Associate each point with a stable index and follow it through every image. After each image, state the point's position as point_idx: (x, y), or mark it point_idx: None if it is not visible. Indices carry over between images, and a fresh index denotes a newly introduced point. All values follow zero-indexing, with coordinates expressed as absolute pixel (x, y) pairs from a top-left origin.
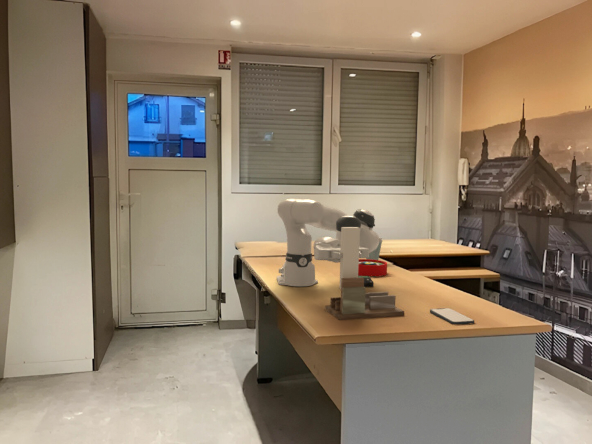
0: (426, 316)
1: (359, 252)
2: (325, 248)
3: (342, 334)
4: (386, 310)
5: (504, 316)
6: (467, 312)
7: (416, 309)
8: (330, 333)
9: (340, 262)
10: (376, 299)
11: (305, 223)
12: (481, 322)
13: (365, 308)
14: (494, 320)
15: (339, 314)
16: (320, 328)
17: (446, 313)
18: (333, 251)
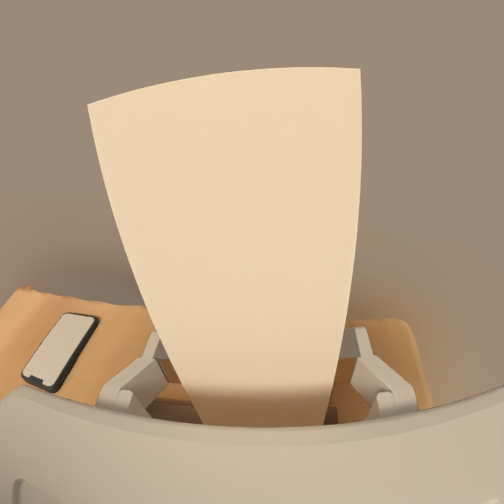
0: (89, 374)
1: (150, 351)
2: (480, 463)
3: (357, 320)
4: (157, 418)
5: (5, 323)
6: (13, 359)
7: None
8: (381, 327)
9: (326, 404)
10: None
11: None
12: (54, 316)
13: None
14: (33, 316)
15: (331, 417)
16: (398, 356)
17: (57, 354)
18: (398, 412)
